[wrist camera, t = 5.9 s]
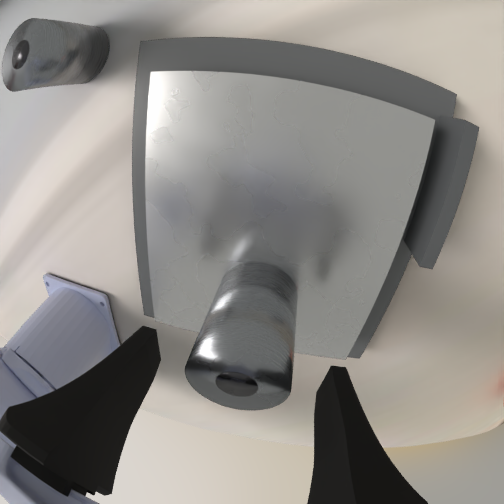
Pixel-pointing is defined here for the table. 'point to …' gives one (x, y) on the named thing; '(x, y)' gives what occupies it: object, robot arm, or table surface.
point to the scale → (337, 76)
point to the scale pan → (277, 195)
